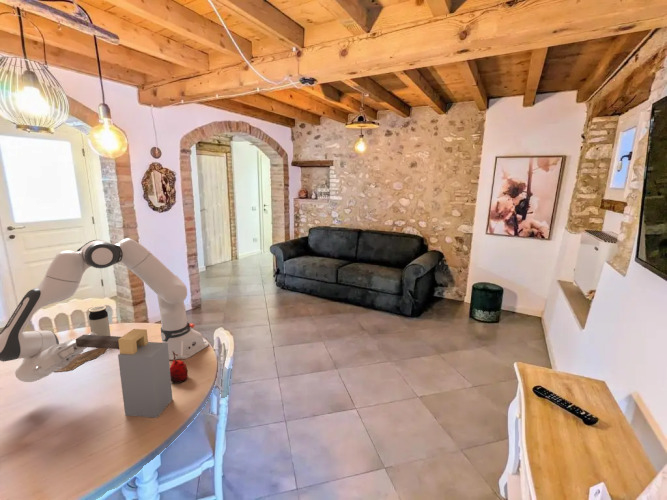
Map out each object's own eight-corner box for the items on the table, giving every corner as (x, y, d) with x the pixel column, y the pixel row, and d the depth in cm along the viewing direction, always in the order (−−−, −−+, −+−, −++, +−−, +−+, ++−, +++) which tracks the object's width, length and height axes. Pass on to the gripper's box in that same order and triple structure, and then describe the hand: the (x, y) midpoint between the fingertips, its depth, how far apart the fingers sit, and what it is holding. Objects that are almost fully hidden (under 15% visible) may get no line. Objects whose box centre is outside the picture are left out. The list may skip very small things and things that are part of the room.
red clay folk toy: (191, 376, 141) (189, 345, 138) (180, 386, 134) (178, 353, 131) (177, 373, 143) (174, 342, 139) (165, 383, 136) (162, 350, 133)
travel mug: (112, 340, 171) (108, 308, 167) (94, 345, 165) (90, 312, 161) (108, 335, 176) (104, 304, 172) (90, 340, 170) (86, 308, 166)
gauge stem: (76, 346, 116) (75, 339, 115) (84, 342, 119) (83, 334, 119) (129, 349, 115) (129, 342, 114) (136, 345, 118) (135, 337, 118)
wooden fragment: (63, 375, 140) (63, 373, 139) (46, 370, 143) (45, 368, 143) (118, 347, 164) (118, 345, 164) (102, 344, 167) (102, 342, 167)
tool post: (125, 415, 117) (116, 340, 111) (143, 397, 126) (135, 327, 120) (157, 417, 116) (149, 342, 110) (172, 399, 126) (166, 329, 120)
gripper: (23, 365, 109) (54, 348, 107) (75, 337, 129) (101, 323, 127) (34, 380, 110) (65, 364, 108) (84, 350, 130) (110, 336, 128)
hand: (85, 341), depth 117 cm, fingers open, 8 cm apart
